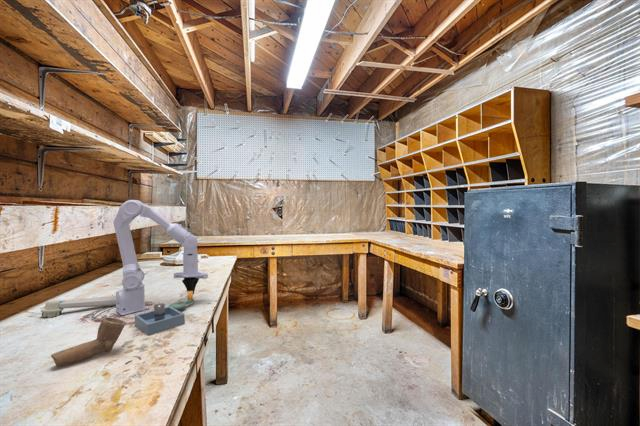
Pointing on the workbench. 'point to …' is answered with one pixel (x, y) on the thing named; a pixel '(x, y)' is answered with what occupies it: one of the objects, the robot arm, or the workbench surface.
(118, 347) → the workbench surface
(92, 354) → the pipe
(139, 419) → the workbench surface
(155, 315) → the pin
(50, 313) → the grey long piece
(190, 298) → the crank
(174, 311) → the tray
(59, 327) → the workbench surface
